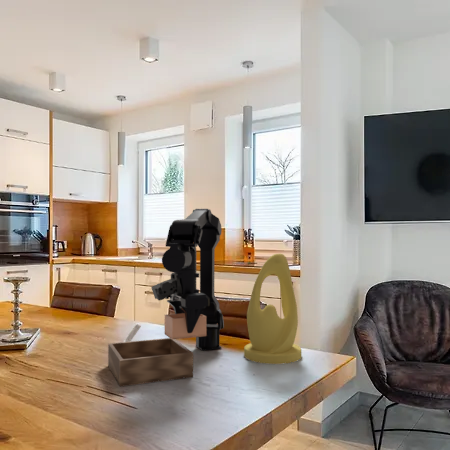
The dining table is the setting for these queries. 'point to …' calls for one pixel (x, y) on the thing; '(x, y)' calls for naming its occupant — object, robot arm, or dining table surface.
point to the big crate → (149, 361)
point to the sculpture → (273, 319)
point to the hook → (133, 332)
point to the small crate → (183, 326)
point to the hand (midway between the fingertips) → (185, 330)
